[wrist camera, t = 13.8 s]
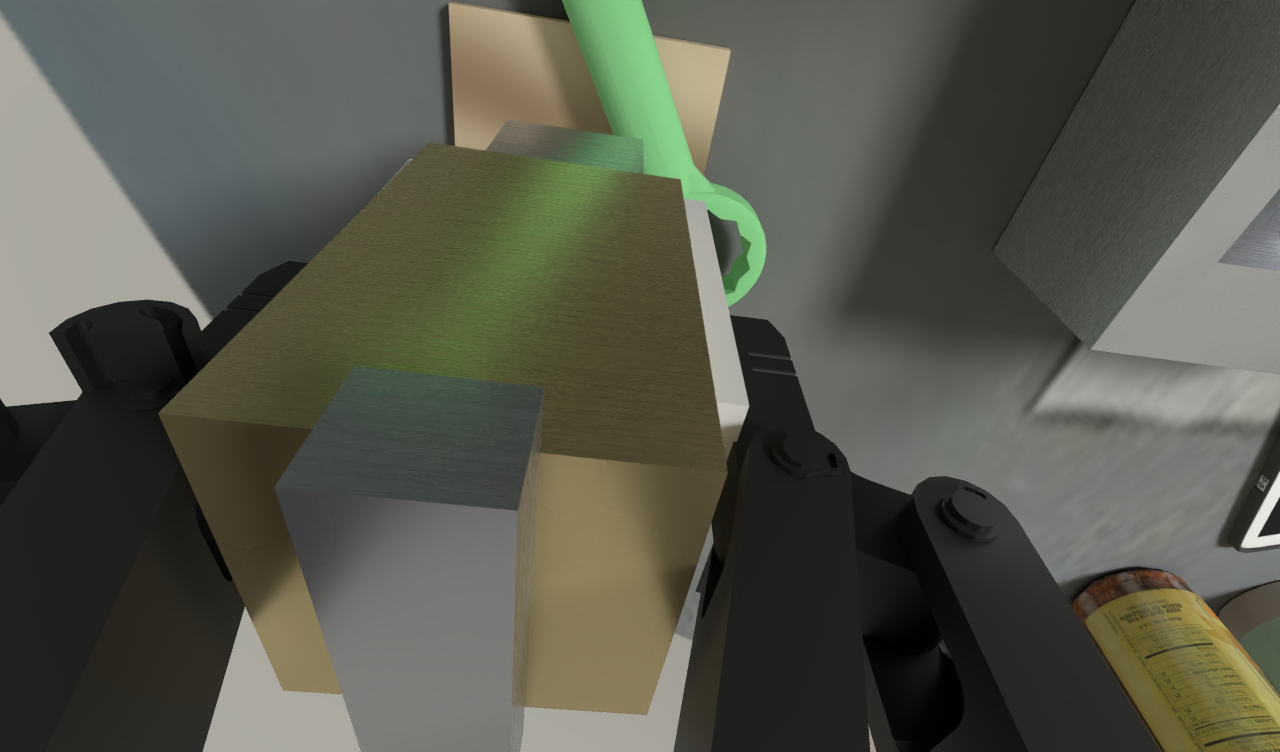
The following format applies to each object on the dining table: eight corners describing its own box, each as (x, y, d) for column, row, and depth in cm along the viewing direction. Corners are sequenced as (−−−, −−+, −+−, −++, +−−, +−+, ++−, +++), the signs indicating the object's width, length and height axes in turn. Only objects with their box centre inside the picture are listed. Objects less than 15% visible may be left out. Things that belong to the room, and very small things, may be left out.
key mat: (452, 1, 17) (448, 3, 16) (729, 48, 17) (730, 50, 17) (460, 203, 20) (458, 208, 20) (688, 235, 21) (689, 240, 21)
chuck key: (482, 56, 14) (-25, 458, 3) (676, 88, 14) (776, 535, 4) (485, 283, 17) (246, 825, 7) (640, 303, 18) (638, 844, 7)
